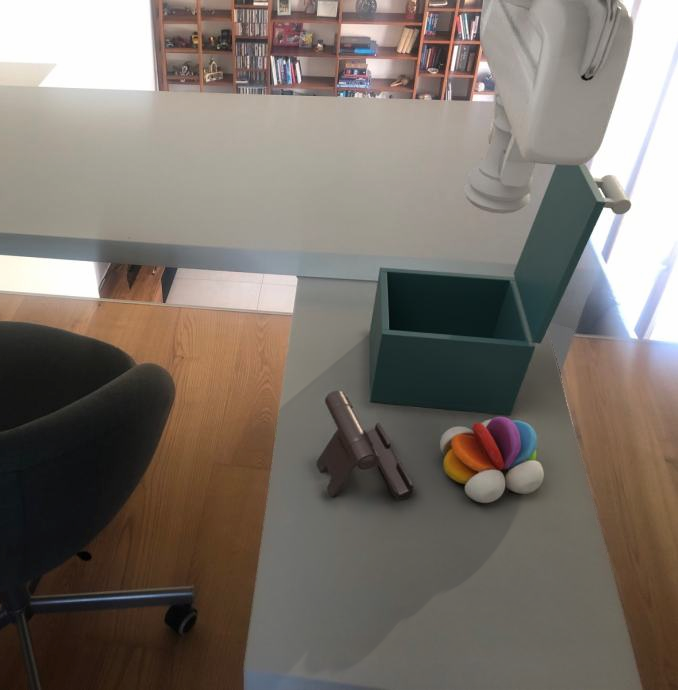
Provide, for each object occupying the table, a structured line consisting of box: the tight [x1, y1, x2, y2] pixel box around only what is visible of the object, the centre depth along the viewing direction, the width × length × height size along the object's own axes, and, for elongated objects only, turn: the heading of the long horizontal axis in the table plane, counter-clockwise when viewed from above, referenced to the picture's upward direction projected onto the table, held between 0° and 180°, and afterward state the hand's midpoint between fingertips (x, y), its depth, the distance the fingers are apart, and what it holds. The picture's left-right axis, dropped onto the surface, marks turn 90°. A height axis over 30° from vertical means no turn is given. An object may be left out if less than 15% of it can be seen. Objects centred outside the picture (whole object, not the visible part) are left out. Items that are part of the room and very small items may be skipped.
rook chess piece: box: [463, 96, 534, 215], centre depth 46 cm, size 4×4×8 cm
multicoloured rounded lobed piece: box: [439, 416, 545, 504], centre depth 70 cm, size 8×10×7 cm
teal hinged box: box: [369, 267, 536, 416], centre depth 80 cm, size 16×13×10 cm
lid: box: [513, 163, 632, 344], centre depth 70 cm, size 16×13×5 cm
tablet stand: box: [316, 390, 414, 501], centre depth 70 cm, size 9×8×8 cm
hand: (505, 164), depth 47 cm, fingers closed on rook chess piece, 3 cm apart
